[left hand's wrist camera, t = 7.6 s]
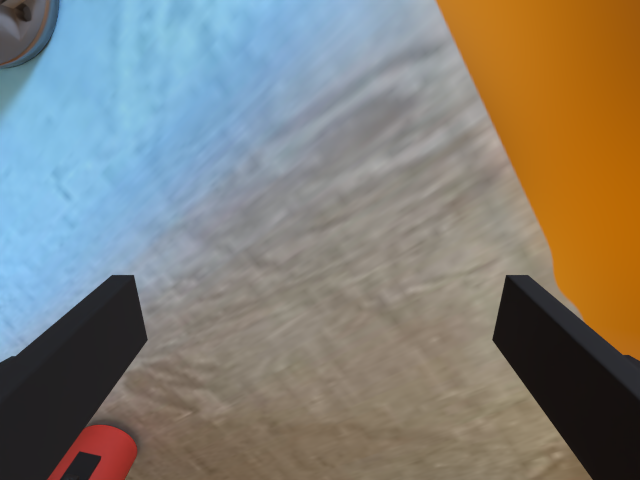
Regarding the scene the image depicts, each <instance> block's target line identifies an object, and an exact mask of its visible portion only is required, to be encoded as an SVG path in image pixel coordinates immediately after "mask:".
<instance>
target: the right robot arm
mask: <svg viewBox="0 0 640 480" xmlns="http://www.w3.org/2000/svg"><path fill="white" fill-rule="evenodd" d="M100 460H101V456H99V455H94V454H90V453H85V452H81V451H79V452H78V454H77V455H76V457H75V458H74V460H73V461H72V463H71V464H70V465H69V467H68V468H67V470H66V471H65V473H64V474H63V476H62V477H61V479H60V480H89V478H90V477H91V475H92V473H93V472H94V470H95V469H96V467H97V465H98V464H99V462H100Z"/></svg>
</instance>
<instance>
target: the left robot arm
mask: <svg viewBox="0 0 640 480" xmlns="http://www.w3.org/2000/svg"><path fill="white" fill-rule="evenodd" d="M58 10H59V0H0V68H9V67H14V66H17V65H20V64H23V63H25V62H27V61H29V60H30V59H32V58H33V57H34V56H36V55H37V54H38V53H39V52H40V51H41V50H42V49H43V48H44V47H45V45H46V44H47V42H48V41H49V39H50V37H51V35H52V33H53V30H54V28H55V25H56V21H57V17H58ZM147 340H148V339H147V335H146V330H145V325H144V321H143V316H142V311H141V307H140V302H139V297H138V293H137V288H136V283H135V278H134V275H112V276H110V277H109V278H108V279H107V280H106V281H105V282H103V283H102V284H101V285H100V286H99V287H97V288H96V289H95V290H94V291H93V292H91V293H90V294H89V295H88V296H87V297H85V298H84V299H83V300H82V301H81V302H80V303H78V304H77V305H76V306H75V307H74V308H72V309H71V310H70V311H69V312H68V313H66V314H65V315H64V316H63V317H62V318H61V319H59V320H58V321H57V322H56V323H55V324H53V325H52V326H51V327H50V328H49V329H47V330H46V331H45V332H44V333H43V334H42V335H40V336H39V337H38V338H37V339H36V340H34V341H33V342H32V343H31V344H30V345H28V346H27V347H26V348H25V349H24V350H22V351H21V352H20V353H19V354H18V355H17V356H11V357H10V358H8V359H6V360H4V361H2V362H1V363H0V480H47V479H48V478H49V476H50V475H51V474H52V472H53V471H54V469H55V468H56V467H57V465H58V464H59V462H60V461H61V460H62V458H63V457H64V456H65V454H66V453H67V451H68V450H69V449H70V447H71V446H72V444H73V443H74V442H75V440H76V439H77V437H78V436H79V435H80V433H81V432H82V431H83V429H84V428H85V426H86V425H87V424H88V422H89V421H90V419H91V418H92V417H93V415H94V414H95V412H96V411H97V410H98V408H99V407H100V405H101V404H102V403H103V401H104V400H105V399H106V397H107V396H108V394H109V393H110V392H111V390H112V389H113V387H114V386H115V385H116V383H117V382H118V380H119V379H120V378H121V376H122V375H123V373H124V372H125V371H126V369H127V368H128V367H129V365H130V364H131V362H132V361H133V360H134V358H135V357H136V355H137V354H138V353H139V351H140V350H141V348H142V347H143V346H144V344H145V343H146V342H147ZM492 340H493V342H494V343H495V344H496V346H497V347H498V348H499V350H500V351H501V353H502V354H503V355H504V357H505V358H506V360H507V361H508V362H509V364H510V365H511V367H512V368H513V369H514V371H515V372H516V373H517V375H518V376H519V378H520V379H521V380H522V382H523V383H524V385H525V386H526V387H527V389H528V390H529V392H530V393H531V394H532V396H533V397H534V399H535V400H536V401H537V403H538V404H539V405H540V407H541V408H542V410H543V411H544V412H545V414H546V415H547V417H548V418H549V419H550V421H551V422H552V424H553V425H554V426H555V428H556V429H557V431H558V432H559V433H560V435H561V436H562V437H563V439H564V440H565V442H566V443H567V444H568V446H569V447H570V449H571V450H572V451H573V453H574V454H575V456H576V457H577V458H578V460H579V461H580V462H581V464H582V465H583V467H584V468H585V469H586V471H587V472H588V474H589V475H590V476H591V478H592V479H593V480H640V361H639V360H637V359H635V358H633V357H631V356H630V355H622V354H621V353H620V352H619V351H618V350H616V349H615V348H614V347H613V346H612V345H610V344H609V343H608V342H607V341H606V340H604V339H603V338H602V337H601V336H600V335H598V334H597V333H596V332H595V331H594V330H593V329H591V328H590V327H589V326H588V325H587V324H585V323H584V322H583V321H582V320H581V319H579V318H578V317H577V316H576V315H575V314H574V313H572V312H571V311H570V310H569V309H568V308H566V307H565V306H564V305H563V304H562V303H560V302H559V301H558V300H557V299H556V298H555V297H553V296H552V295H551V294H550V293H549V292H547V291H546V290H545V289H544V288H543V287H541V286H540V285H539V284H538V283H537V282H535V281H534V280H533V279H532V278H531V277H530V276H528V275H506V278H505V283H504V288H503V293H502V297H501V302H500V307H499V311H498V316H497V321H496V325H495V330H494V335H493V339H492Z"/></svg>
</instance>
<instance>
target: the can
mask: <svg viewBox="0 0 640 480" xmlns="http://www.w3.org/2000/svg"><path fill="white" fill-rule="evenodd" d="M79 451H81V452H85V453H90V454H94V455H99V456H101V460H100V462H99V464H98V465H97V467H96V469H95V470H94V472H93V473H92V475H91V477H90V478H89V480H124V479H125V478H126V476H127V474H128V472H129V470H130V468H131V466H132V464H133V462H134V460H135V458H136V456H137V446H136V444H135V442H134V440H133V439H132V438H131V437H130V436H129V435H128V434H127V433H125V432H124V431H122V430H120V429H118V428H115V427H112V426H108V425H93V426H89V427H87V428H85V429H83V431H82V432H81V433H80V435H79V436H78V437H77V439H76V440H75V442H74V443H73V444H72V446H71V447H70V449H69V450H68V451H67V453H66V454H65V456H64V457H63V458H62V460H61V461H60V462H59V464H58V465H57V467H56V468H55V469H54V471H53V472H52V474H51V475H50V476H49V478H48V479H47V480H60V479H61V477H62V476H63V474H64V473H65V471H66V470H67V468H68V467H69V465H70V464H71V463H72V461H73V460H74V458H75V457H76V455H77V454H78V452H79Z"/></svg>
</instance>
